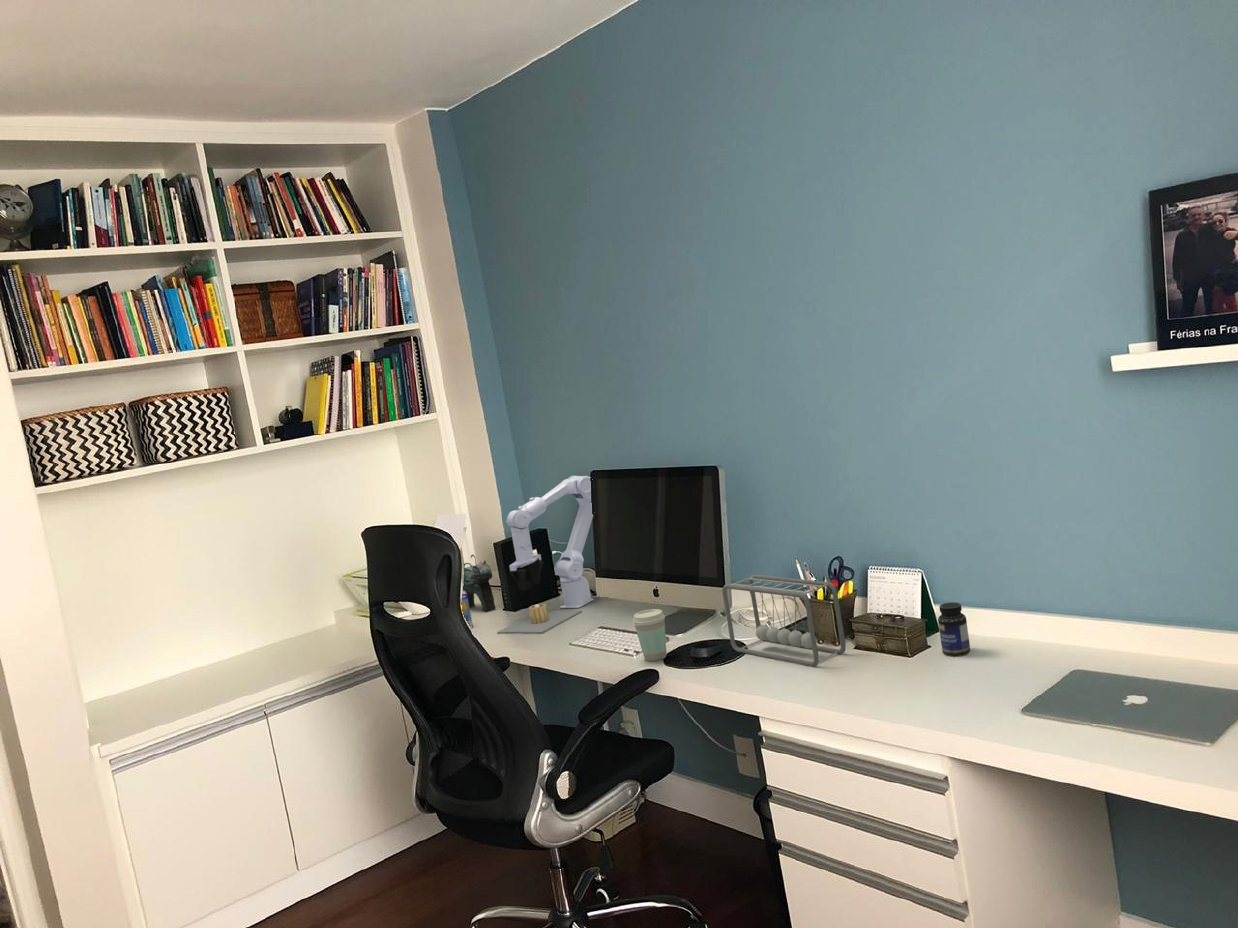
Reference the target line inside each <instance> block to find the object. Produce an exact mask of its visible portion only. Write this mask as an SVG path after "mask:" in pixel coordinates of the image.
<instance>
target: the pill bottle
mask: <svg viewBox="0 0 1238 928" xmlns="http://www.w3.org/2000/svg"><path fill="white" fill-rule="evenodd" d="M962 610H963V608H962V604H961V603H960V602H954V601H953V602H945V603H942V604H940V605H939V612H940V613H941V614H940V615H938V618H937V622H938V623H937V624H938V631H939V638H940V644H941V652H942V654H943V655H944V656H949V657H960V656H964V655H967V654H969V653H970V652H971V645H970V636H969V628H968V623H967V622H968V621H967V616H966V614H964V613H962Z"/></svg>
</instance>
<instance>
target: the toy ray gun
mask: <svg viewBox="0 0 1238 928" xmlns="http://www.w3.org/2000/svg"><path fill="white" fill-rule="evenodd" d="M472 557H473V558H474V560H475V561H474V562H475V563H474V564H475V565H472V563H469V562H465V563H464V564H463V565H464V586H463V591H466V593H467V597H468V602H469V608H470V609H471V608H473V607H472V606H474V607H475V595H476V596H477V598H478V599H479V602H480V603H481V609H482V612H486V613H489V612H492V611H495V610H496V604H495V598H494V597H495V596H494V594H493V591H492V587H491V584H490V580H491V579H492V578H493V572H492V568H491V566H490V565H489V564H488V563H487V561H486V560H483V562H482V561H481V560H480V561H479V563H478V564H477V560H476V556H475V555H474V554H471V555H470V559H472ZM466 565H469V566H466ZM465 566H466V567H465Z"/></svg>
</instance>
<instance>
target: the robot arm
mask: <svg viewBox="0 0 1238 928" xmlns="http://www.w3.org/2000/svg"><path fill="white" fill-rule="evenodd" d="M590 478H591V477H590V476H588V475H583V476H582V475H571V476H569V477H568V478H565V479H564V480H562V481H561V482H560V483H558V484H557V485H556V486H555V487H554V488H552V489H551V490H549V491H548V492H546V493H545V494H544V495H543V496H541V497H538V496H535V497H533V496H532V497H529V499H528V500H529V501H528V502H526V503H524V504H523V505H519V506H518V508H517V509H515V510H512V511H510V512H509V513H508V515H507V518H506V520H505V522H506V524H507V526H508V527H510V531H511V538H512V544H513V549H514V555H515V561H513V563H511V564H510V565H508V566H509V571H508V572H509V575H511V577H512V578H513V579H514V581H515V583H516V585H517V586H518V589H519V591H525V590H527V584H526V575H527V574H526V573H527V569H526V568H525V569H523V567H526V566H527V567H528V570H529V573H530V576H531V580H532V583H533V584H534V585H540V582H541V572H542V569H543V565H544V561H543V560H542V555H541V553H540V554H539V553H538V554H534V552H533V551H534V550H533V546H532V540H531V535H530V530H529V525H530V523H531V522H532V521H534V520H535V519H536V518H537V517H539V516H540V515H542V514H544V513H545V512H546V510H547V506H549V505H551V504H552V503H554V502H556V501H558V500H559V499H560V498H562V497H563V496H565V495H571V496H572V497H573V498H575V499H576V501H577V503H578V505H579V506H578V510H577V514H576V517H575V520H574V523H573V526H572V531H571V533H570V536H569V538H568V539H569V540H568V544H567V546H566V549H565V550H564V551H563V552H562V553H561V556H560V558H559V559H558V560H557V561H556V563H555V565H554V570H555V571H554V572H555V573H556V575H557V576H559V582H560V587H561V592H562V597H563V602H564V604H563V605H561V606H559V608H560V609H579V608H581V607H583V606H585V605H587V604H589V603H591V602H593V601H594V598H592V596H591V589H590V584H589V581H588V579H587V578H586V577H585V576H583V573H584V562H585V560H584V557H583V551H584V548H585V544H586V540H587V537H588V535H589V531H590V528H591V524H592V520H593V519H594V515H593V514H592V503H591V481H590Z"/></svg>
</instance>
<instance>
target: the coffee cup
mask: <svg viewBox="0 0 1238 928" xmlns="http://www.w3.org/2000/svg"><path fill="white" fill-rule="evenodd" d="M665 619H666V617H665V614H664V613H663V610H662V609H658V608H656V609H655V608H653V609H646V610H640V611H639V612H637V613H634V615H633V619H632V624H633V625H634V627H635V631H636V635H637V637H638V640H639V645H640V647H641V652H642V654H643V657H644V660H645V661H647V662H656V661H661V660H662V659H665V658H666V657H667V642H666V640H667V639H666V638H667V637H666V623H665Z"/></svg>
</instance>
